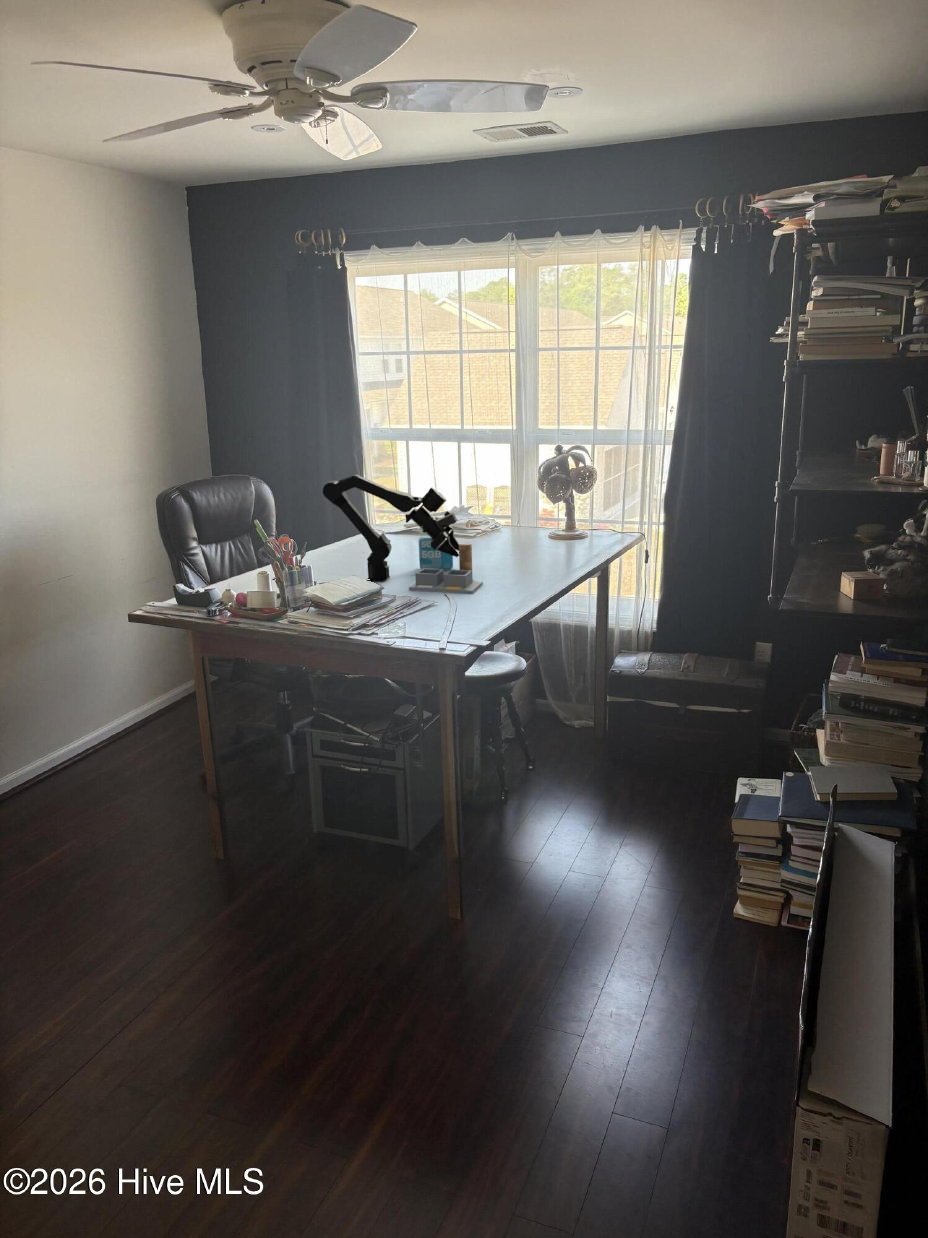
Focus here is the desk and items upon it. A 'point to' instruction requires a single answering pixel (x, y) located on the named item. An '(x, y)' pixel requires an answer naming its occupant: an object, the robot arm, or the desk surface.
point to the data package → (433, 556)
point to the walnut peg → (465, 556)
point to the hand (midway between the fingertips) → (459, 553)
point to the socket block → (445, 581)
